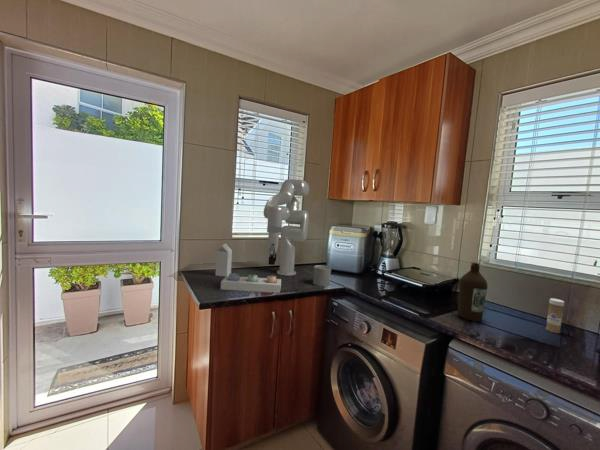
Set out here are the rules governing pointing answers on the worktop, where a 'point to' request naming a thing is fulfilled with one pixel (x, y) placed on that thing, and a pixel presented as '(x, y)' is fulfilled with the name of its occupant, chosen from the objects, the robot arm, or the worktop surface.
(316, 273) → the coffee mug
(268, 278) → the button one
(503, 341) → the worktop surface
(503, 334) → the worktop surface
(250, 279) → the button three
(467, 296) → the olive oil
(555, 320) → the sprinkles bottle
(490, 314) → the worktop surface
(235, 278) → the button two
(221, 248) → the milk carton
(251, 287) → the button board
